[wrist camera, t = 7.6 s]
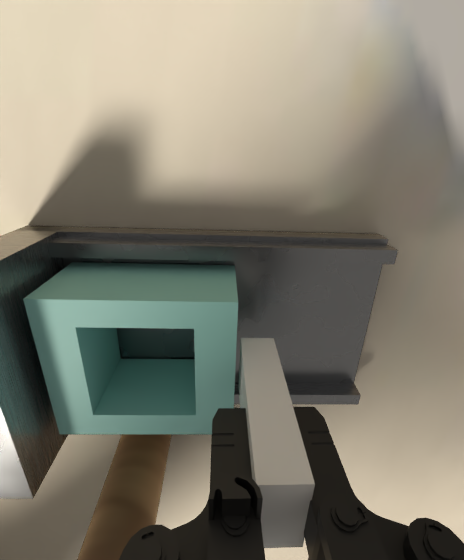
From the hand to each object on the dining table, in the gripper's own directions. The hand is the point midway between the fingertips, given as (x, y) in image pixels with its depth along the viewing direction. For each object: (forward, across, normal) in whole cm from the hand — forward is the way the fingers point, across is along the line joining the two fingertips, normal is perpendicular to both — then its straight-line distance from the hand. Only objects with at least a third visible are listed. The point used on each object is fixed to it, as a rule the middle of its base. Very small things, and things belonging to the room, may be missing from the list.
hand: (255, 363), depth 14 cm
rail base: (+4, -2, 0) cm, 5 cm away
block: (+3, -5, 0) cm, 6 cm away
